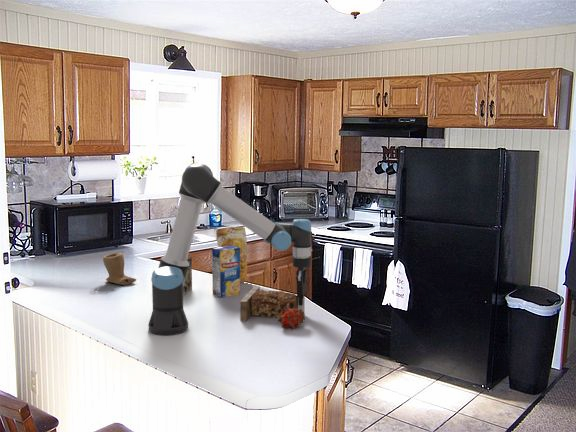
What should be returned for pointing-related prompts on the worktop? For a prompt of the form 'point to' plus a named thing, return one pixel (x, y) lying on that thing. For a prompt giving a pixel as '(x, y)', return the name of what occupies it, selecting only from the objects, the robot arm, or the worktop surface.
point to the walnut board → (247, 304)
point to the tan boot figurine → (116, 269)
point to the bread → (272, 303)
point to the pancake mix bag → (237, 239)
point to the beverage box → (226, 271)
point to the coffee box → (188, 278)
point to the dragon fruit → (292, 318)
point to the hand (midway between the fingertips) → (301, 311)
